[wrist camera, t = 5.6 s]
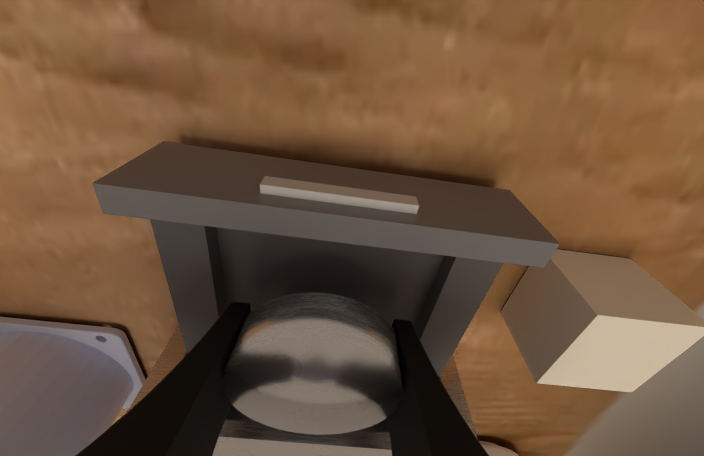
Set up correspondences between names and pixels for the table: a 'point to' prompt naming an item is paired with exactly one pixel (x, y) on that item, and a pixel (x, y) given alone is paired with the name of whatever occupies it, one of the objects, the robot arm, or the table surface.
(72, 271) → the table surface
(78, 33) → the table surface
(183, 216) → the tray
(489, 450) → the beverage can
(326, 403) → the disc
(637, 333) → the riser block
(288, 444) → the box
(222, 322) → the robot arm
